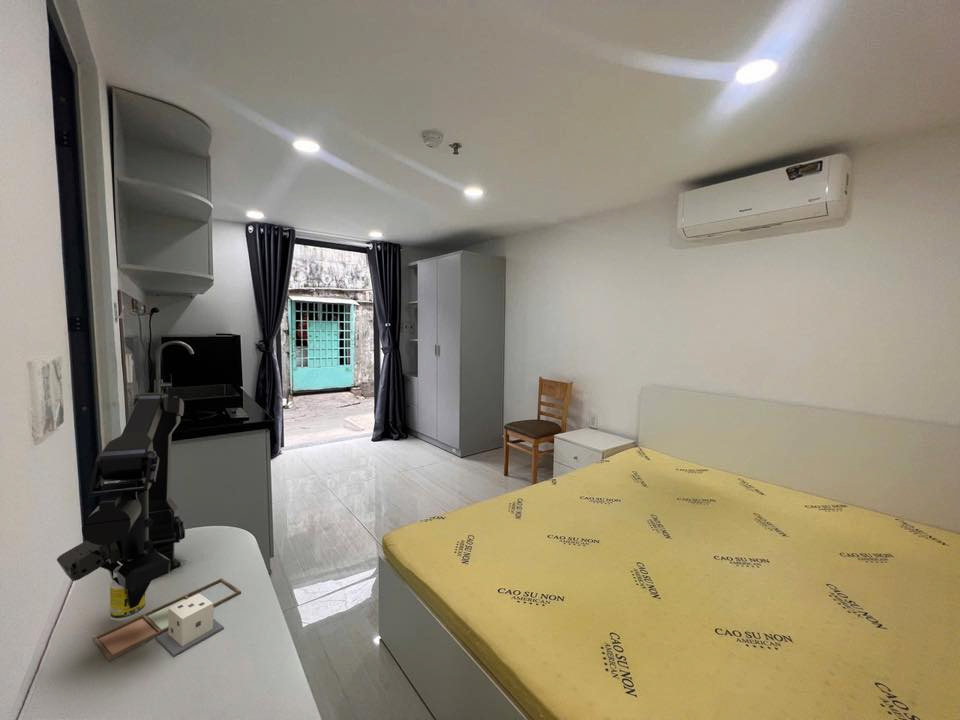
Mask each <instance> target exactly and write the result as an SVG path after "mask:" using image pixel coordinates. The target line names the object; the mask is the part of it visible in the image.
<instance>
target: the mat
mask: <svg viewBox="0 0 960 720" xmlns="http://www.w3.org/2000/svg"><path fill="white" fill-rule="evenodd" d="M224 629H225V627H224V626H223V624H221V623H219V622H218V621H217V620H216V619H215V618H213V629H212V630H210V631H208V632H207V633H205V634H203V635H201V636H200V637H198V638H196V639H194V640H193V641H191V642H189V643H187V644H186V645H184V646H181V645H180V644H179V643H178V642H177V641H176V640H174V639H173V638H172V637H171V636H170V635H169V631H167V632H165V633H163V634H161V635H159V636H157V637H155V640H156V641H157V642H158V643H159V644H160V645H161V646H162V647H163V648H164V650H166V651H167V652H168V653H169V654H170V655H171V656H172V657H173V658H174V657H177V656H178V655H180V654H182V653H183V652H185V651H188V650H190V648H192V647H195V646H196V645H198V644H199V643H202V642H203V641H204V640H207V639H208V638H209V639H210V637H212V636H213V635H214V636H215V635H216V634H217V633H219V632H221V631H223V630H224Z"/></svg>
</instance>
